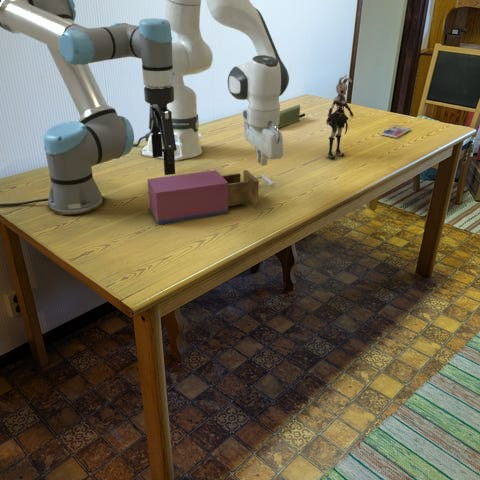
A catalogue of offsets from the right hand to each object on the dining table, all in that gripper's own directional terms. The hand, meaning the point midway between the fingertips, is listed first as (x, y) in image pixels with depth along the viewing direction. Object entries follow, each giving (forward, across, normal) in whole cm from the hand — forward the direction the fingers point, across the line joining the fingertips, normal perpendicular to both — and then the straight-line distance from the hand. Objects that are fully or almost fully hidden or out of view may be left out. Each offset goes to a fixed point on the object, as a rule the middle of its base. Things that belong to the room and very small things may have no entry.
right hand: (262, 163), depth 149 cm
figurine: (+12, +26, -41) cm, 50 cm away
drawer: (+11, 0, +10) cm, 14 cm away
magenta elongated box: (+12, 0, +23) cm, 26 cm away
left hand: (-3, 0, +29) cm, 30 cm away
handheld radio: (+12, +69, -44) cm, 83 cm away
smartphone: (+12, +42, -81) cm, 92 cm away
